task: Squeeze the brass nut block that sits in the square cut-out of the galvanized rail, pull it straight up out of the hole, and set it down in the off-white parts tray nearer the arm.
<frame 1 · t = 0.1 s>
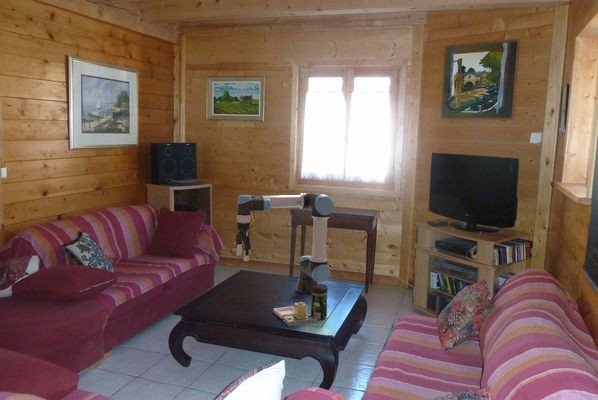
hand: (242, 258, 300), 28 cm above the table, fingers open, 13 cm apart
nut block: (300, 313, 279), in the rail
rail: (299, 322, 279), on the table
tray: (286, 314, 290), on the table
coffee jar: (318, 317, 287), on the table
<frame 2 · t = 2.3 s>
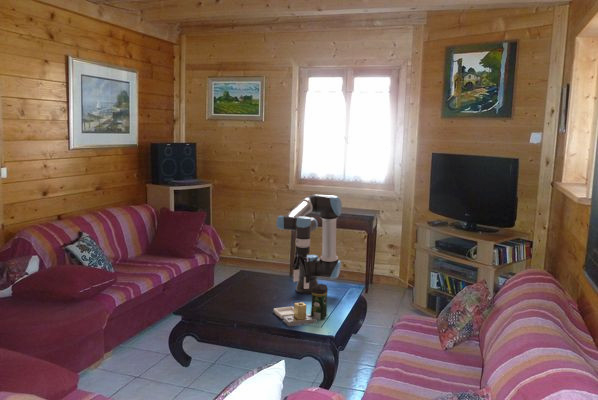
hand: (301, 285, 277), 21 cm above the table, fingers open, 13 cm apart
nothing on the table moved.
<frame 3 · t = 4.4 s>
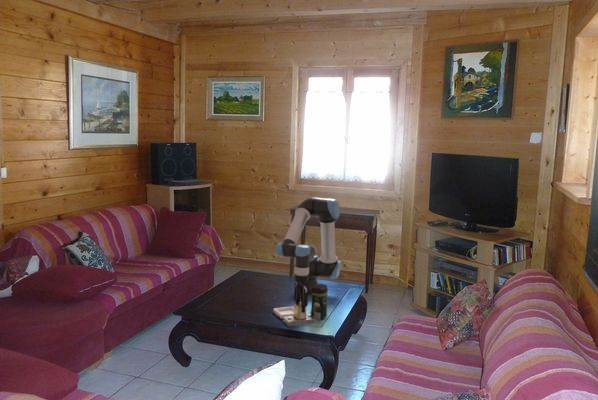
hand: (299, 316, 279), 3 cm above the table, fingers closed on nut block, 5 cm apart
nut block: (300, 312, 279), in the rail, touching gripper
everything else where it was.
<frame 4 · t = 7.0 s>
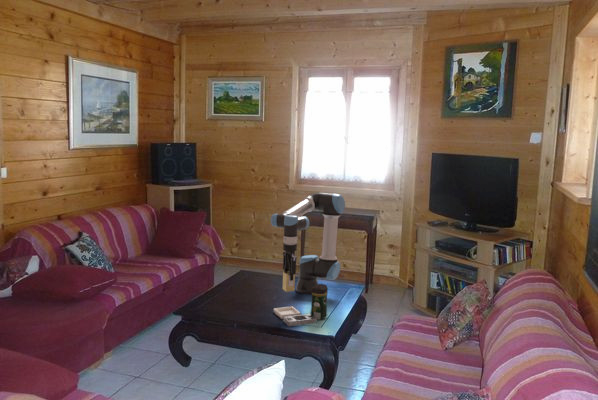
hand: (288, 284, 288), 17 cm above the table, fingers closed on nut block, 5 cm apart
nut block: (288, 281, 288), point 19 cm above the table, touching gripper
everything else where it was.
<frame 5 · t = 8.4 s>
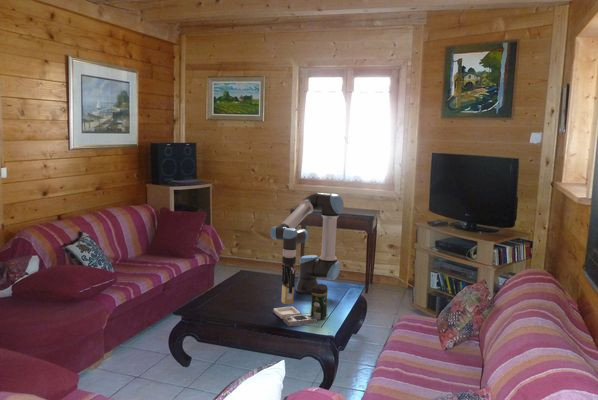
hand: (287, 297, 289), 10 cm above the table, fingers closed on nut block, 5 cm apart
nut block: (287, 293, 289), point 12 cm above the table, touching gripper
everything else where it was.
when the fingers open (5 cm above the table, at t = 9.6 s): nut block drops 1 cm, resting on tray.
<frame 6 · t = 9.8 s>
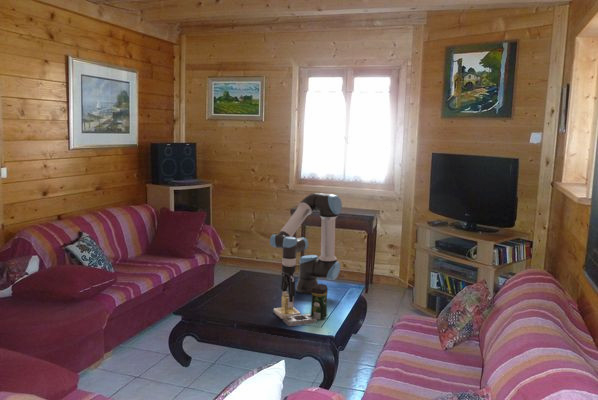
hand: (287, 304, 290), 6 cm above the table, fingers open, 7 cm apart
nut block: (287, 304, 289), in the tray, point 6 cm above the table
everything else where it was.
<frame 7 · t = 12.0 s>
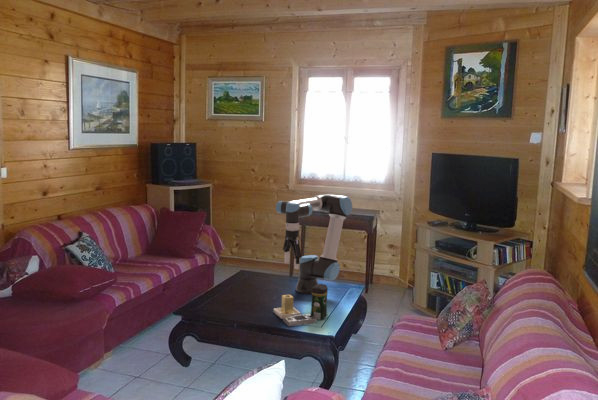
hand: (291, 265, 296), 26 cm above the table, fingers open, 13 cm apart
nothing on the table moved.
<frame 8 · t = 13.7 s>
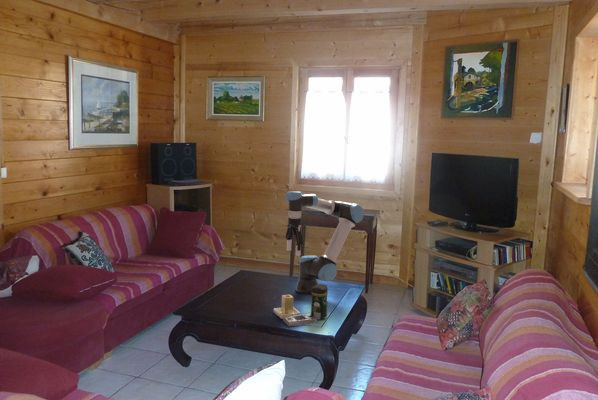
hand: (293, 253, 306), 31 cm above the table, fingers open, 13 cm apart
nothing on the table moved.
at the end: nut block inside the target area on the tray (0.1 cm from its centre), point 5.7 cm above the tray's base; nut block touching tray; the gripper is holding nothing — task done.
